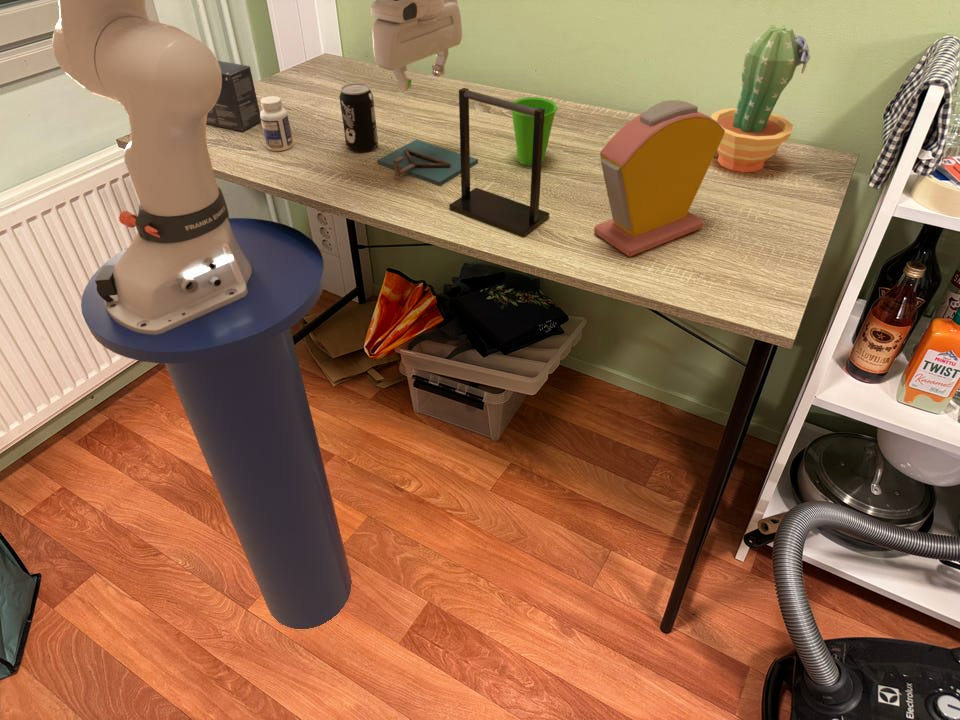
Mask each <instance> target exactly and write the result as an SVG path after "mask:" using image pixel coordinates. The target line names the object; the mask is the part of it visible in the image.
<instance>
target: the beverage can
mask: <svg viewBox="0 0 960 720" xmlns="http://www.w3.org/2000/svg"><path fill="white" fill-rule="evenodd" d="M339 104H340V111H341V118H342V126H343V132H344V137H345V138H344V139H345V145H346V147H347V148H349V149H350V151H353V152H355V153H356V152H357V153H366V152H370V151H372V150H374V149H375V148H376V147H377V145H378V144H379V137H378V129H377V120H376V110H375V101H374V94H373V92H372V91H371V86H370V85H369V84H367V83H363V82H352V83H351V82H350V83H347V84H344V85H342V86H341V87H340V94H339Z"/></svg>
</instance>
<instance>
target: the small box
mask: <svg viewBox="0 0 960 720" xmlns="http://www.w3.org/2000/svg"><path fill="white" fill-rule="evenodd" d="M217 61H218V63H219V66H220V70H221V75H222V87H221V92H220V96H219V98H218V100H217V102H216V104H215V106H214V107H213V108H212V109H211V110H210V111H209V112H208V115H207V121H206V125H210V126H214V127H215V126H216V127H219V128H223V129H229V130H234V131H239V132H243V131H246V130H247V129H250V128H251V127H253V126H256V125H257V124H259V123H260V122H261V118H260V112H261V111H260V107H259V102H258V98H257V92H256V89H255V84H254V79H253V74H252V70H251V66H250V65H244V64H239V63H233V62H228V61H221V60H217Z"/></svg>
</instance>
